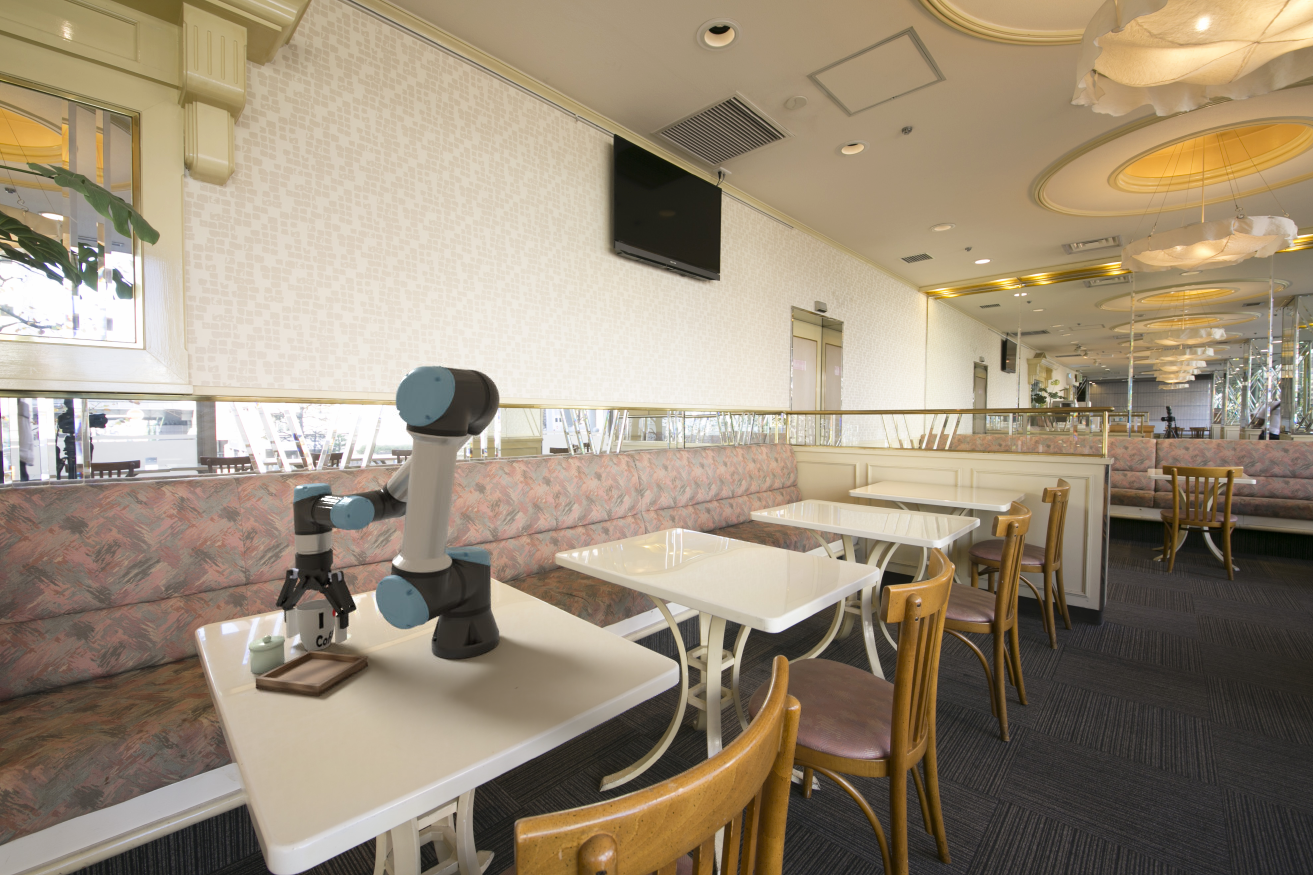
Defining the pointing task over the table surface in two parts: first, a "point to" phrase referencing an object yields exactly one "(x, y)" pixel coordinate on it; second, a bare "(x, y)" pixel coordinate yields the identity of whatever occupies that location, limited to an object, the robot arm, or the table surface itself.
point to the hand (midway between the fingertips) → (316, 638)
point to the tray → (312, 673)
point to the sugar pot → (266, 654)
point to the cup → (315, 623)
